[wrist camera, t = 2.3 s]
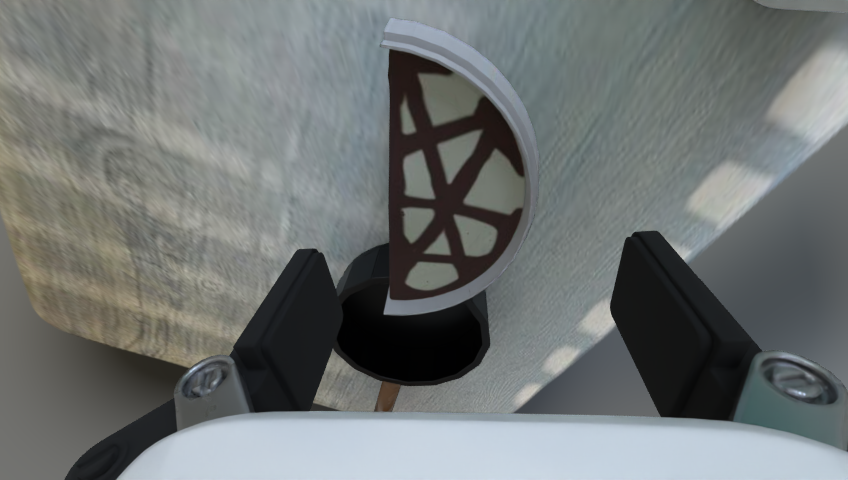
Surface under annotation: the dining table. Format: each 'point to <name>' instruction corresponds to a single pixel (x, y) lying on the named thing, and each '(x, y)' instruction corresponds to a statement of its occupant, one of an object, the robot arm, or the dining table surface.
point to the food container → (452, 170)
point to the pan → (405, 333)
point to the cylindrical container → (807, 5)
